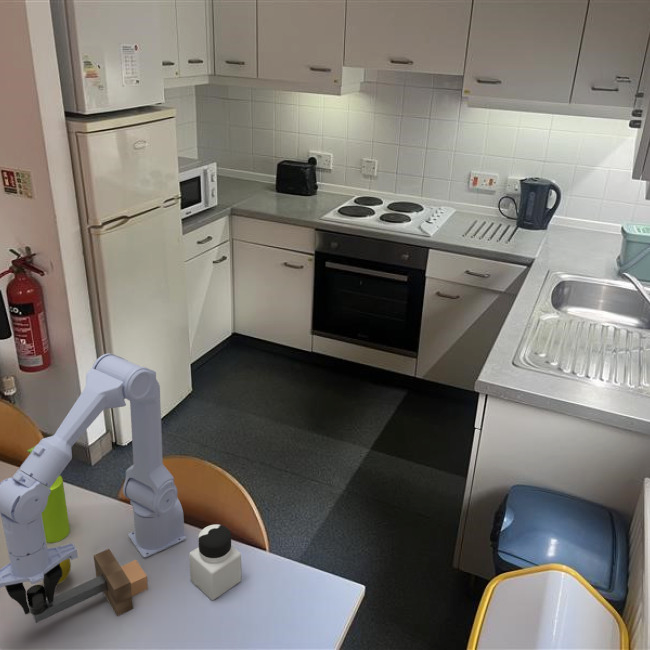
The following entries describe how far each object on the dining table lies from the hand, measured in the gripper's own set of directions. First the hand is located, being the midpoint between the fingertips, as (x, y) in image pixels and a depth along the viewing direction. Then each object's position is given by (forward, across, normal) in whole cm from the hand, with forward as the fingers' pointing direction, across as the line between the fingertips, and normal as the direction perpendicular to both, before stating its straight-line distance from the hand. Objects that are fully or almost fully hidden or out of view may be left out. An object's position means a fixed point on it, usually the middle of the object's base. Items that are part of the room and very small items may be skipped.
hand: (37, 604), depth 109 cm
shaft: (+3, +6, 0) cm, 7 cm away
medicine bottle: (+6, +30, -8) cm, 32 cm away
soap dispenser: (+6, +9, +23) cm, 25 cm away
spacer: (+6, +16, 0) cm, 18 cm away
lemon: (+6, +5, +9) cm, 12 cm away
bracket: (+6, +13, 0) cm, 14 cm away
